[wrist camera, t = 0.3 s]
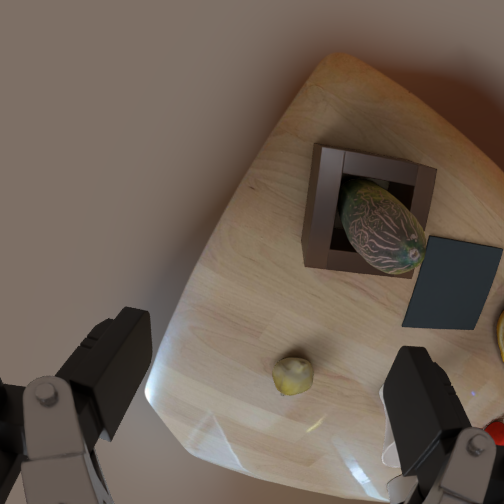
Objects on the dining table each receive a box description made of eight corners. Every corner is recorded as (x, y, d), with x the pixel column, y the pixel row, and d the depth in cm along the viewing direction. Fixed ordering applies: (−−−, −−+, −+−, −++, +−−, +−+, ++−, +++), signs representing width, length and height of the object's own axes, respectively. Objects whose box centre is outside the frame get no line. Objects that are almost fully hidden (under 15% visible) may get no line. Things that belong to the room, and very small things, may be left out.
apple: (468, 438, 53) (477, 462, 46) (492, 414, 50) (504, 438, 43) (487, 439, 54) (497, 461, 46) (510, 416, 50) (522, 438, 43)
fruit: (264, 387, 50) (272, 347, 45) (298, 383, 51) (312, 343, 46) (271, 416, 45) (282, 379, 40) (308, 411, 46) (325, 373, 41)
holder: (313, 143, 35) (321, 146, 28) (409, 160, 35) (437, 169, 27) (300, 240, 40) (304, 267, 32) (391, 252, 39) (411, 279, 32)
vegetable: (386, 184, 36) (470, 239, 18) (369, 230, 39) (431, 318, 20) (341, 167, 36) (397, 208, 18) (324, 216, 38) (359, 298, 20)
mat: (429, 235, 38) (430, 236, 37) (502, 248, 37) (503, 249, 37) (401, 325, 43) (402, 327, 43) (472, 328, 42) (473, 329, 42)
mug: (398, 490, 62) (403, 516, 54) (378, 485, 61) (382, 513, 53) (433, 469, 58) (441, 496, 50) (415, 463, 57) (422, 493, 49)
